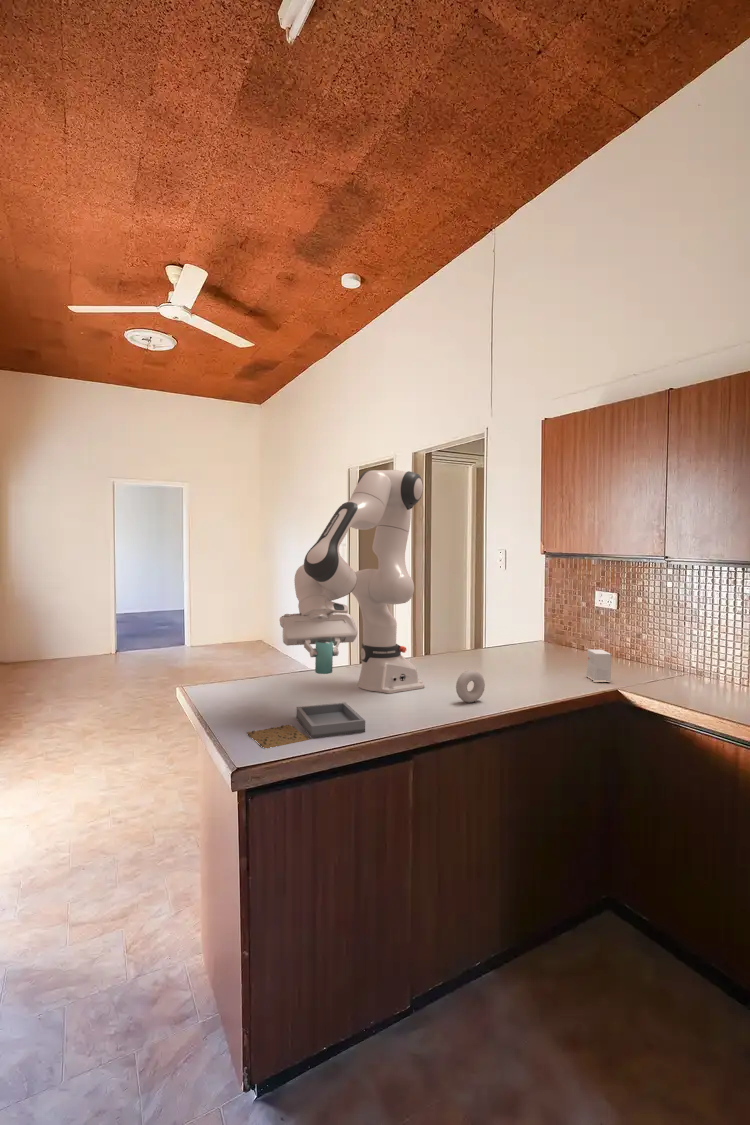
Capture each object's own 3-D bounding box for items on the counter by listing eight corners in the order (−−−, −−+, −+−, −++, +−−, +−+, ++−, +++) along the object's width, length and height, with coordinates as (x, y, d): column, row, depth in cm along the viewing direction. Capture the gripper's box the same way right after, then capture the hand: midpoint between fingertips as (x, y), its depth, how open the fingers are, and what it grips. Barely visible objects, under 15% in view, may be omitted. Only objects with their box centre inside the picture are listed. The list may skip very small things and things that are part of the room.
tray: (345, 712, 153) (345, 702, 153) (365, 732, 138) (365, 720, 138) (296, 717, 148) (296, 706, 148) (311, 738, 133) (311, 726, 133)
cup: (329, 669, 146) (330, 639, 146) (334, 673, 142) (335, 642, 141) (313, 670, 144) (313, 640, 144) (317, 674, 140) (318, 643, 140)
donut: (479, 698, 169) (480, 667, 169) (486, 702, 166) (487, 669, 166) (453, 702, 165) (454, 670, 164) (459, 705, 162) (460, 672, 161)
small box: (610, 683, 192) (611, 654, 191) (594, 683, 192) (595, 653, 191) (601, 677, 200) (602, 649, 199) (586, 677, 200) (587, 648, 199)
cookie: (263, 751, 125) (264, 747, 125) (245, 734, 135) (245, 731, 135) (310, 741, 132) (310, 737, 132) (289, 726, 142) (289, 722, 142)
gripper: (280, 607, 145) (287, 650, 136) (352, 605, 152) (363, 646, 144) (277, 621, 149) (283, 664, 141) (347, 618, 157) (358, 659, 148)
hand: (324, 655), depth 142 cm, fingers closed on cup, 4 cm apart
